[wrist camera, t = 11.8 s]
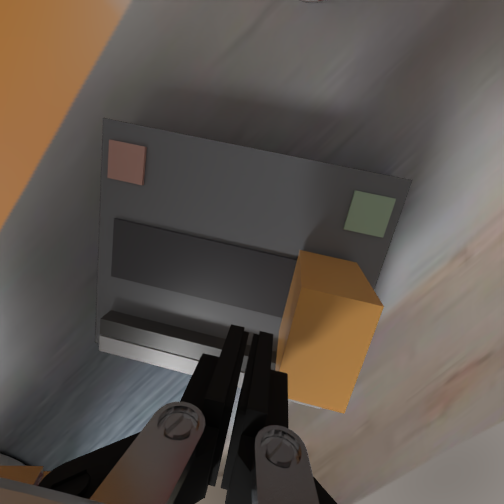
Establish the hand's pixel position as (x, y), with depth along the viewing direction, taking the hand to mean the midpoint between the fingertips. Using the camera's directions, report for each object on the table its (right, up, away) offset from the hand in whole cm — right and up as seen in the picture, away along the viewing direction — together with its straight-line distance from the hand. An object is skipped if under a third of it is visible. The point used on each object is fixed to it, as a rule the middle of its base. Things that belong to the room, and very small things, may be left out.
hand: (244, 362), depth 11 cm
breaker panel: (-1, +4, +9) cm, 9 cm away
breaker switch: (+4, +2, +5) cm, 6 cm away
